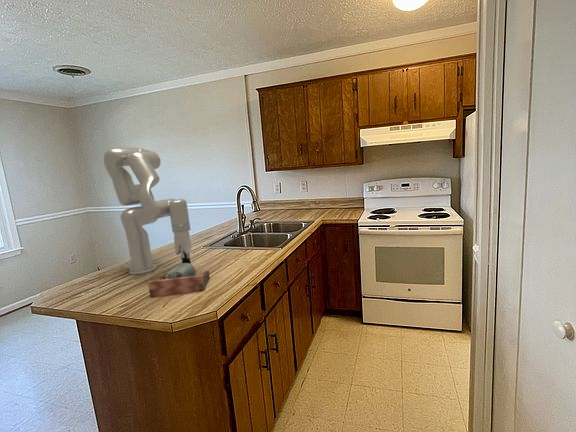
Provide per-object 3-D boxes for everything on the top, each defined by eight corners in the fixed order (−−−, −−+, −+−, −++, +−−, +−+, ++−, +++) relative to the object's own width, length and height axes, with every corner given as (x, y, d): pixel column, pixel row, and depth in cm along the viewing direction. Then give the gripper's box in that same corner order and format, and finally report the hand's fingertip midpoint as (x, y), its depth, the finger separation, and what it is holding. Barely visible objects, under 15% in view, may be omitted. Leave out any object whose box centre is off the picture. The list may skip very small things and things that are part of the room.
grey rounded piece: (182, 283, 123) (174, 260, 125) (165, 293, 126) (157, 270, 128) (205, 279, 135) (196, 258, 138) (189, 288, 138) (181, 267, 141)
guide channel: (150, 297, 121) (147, 282, 120) (162, 282, 136) (160, 269, 135) (203, 290, 122) (201, 276, 121) (209, 277, 137) (207, 264, 136)
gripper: (176, 225, 144) (182, 263, 147) (167, 232, 129) (174, 274, 132) (193, 223, 145) (198, 262, 148) (186, 230, 130) (192, 272, 133)
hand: (187, 267), depth 140 cm, fingers closed
